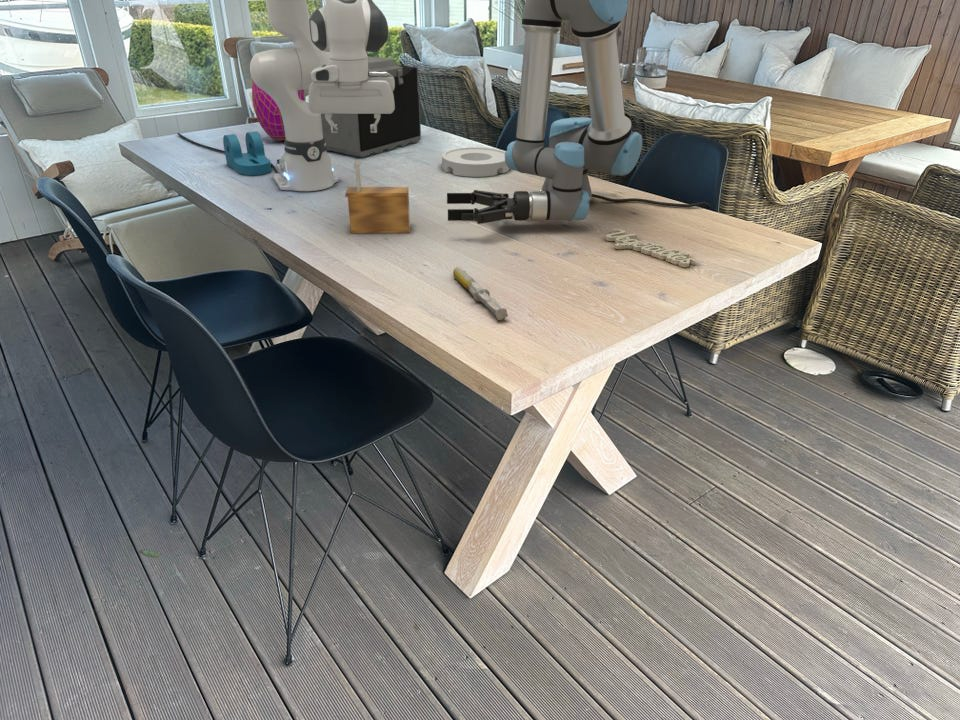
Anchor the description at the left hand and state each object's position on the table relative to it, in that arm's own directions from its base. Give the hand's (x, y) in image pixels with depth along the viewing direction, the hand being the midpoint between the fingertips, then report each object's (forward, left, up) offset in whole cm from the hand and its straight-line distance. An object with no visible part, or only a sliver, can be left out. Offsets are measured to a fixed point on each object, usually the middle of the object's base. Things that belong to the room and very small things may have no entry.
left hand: (354, 132), depth 167 cm
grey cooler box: (-80, +43, -25) cm, 95 cm away
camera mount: (-73, -5, -25) cm, 77 cm away
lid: (+2, +4, -15) cm, 16 cm away
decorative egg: (-107, +19, -25) cm, 111 cm away
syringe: (+51, +2, -25) cm, 57 cm away
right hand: (+12, +19, -18) cm, 29 cm away
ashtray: (-34, +59, -25) cm, 73 cm away
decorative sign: (+52, +52, -25) cm, 77 cm away
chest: (+3, +4, -25) cm, 25 cm away
